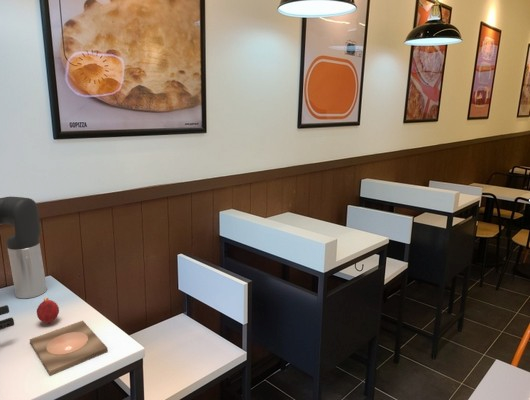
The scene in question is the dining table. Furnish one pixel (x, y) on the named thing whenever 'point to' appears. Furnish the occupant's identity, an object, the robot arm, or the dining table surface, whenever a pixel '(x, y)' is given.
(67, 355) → the serving board
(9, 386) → the dining table surface
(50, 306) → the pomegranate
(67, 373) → the dining table surface
